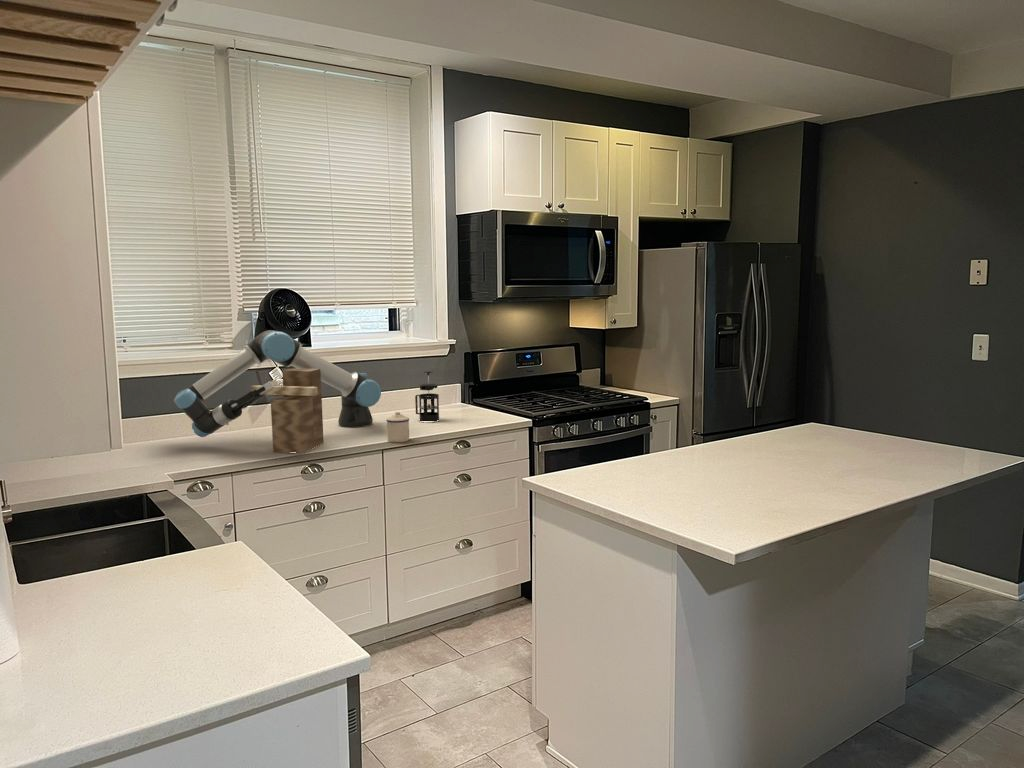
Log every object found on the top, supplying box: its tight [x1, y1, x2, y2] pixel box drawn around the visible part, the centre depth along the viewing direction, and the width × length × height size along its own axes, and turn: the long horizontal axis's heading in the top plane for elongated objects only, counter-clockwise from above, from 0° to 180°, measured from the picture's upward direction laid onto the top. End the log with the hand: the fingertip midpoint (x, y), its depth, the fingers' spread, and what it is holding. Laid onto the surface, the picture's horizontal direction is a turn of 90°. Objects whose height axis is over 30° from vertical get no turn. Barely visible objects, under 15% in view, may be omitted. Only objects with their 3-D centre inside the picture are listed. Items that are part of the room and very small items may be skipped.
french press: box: [414, 370, 440, 422], centre depth 343 cm, size 12×9×23 cm
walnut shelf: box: [270, 367, 325, 454], centre depth 289 cm, size 12×18×30 cm, turn 169°
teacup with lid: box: [385, 411, 410, 443], centre depth 304 cm, size 12×9×12 cm
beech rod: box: [250, 384, 318, 396], centre depth 285 cm, size 26×3×3 cm, turn 79°
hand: (274, 383), depth 285 cm, fingers closed on beech rod, 3 cm apart
